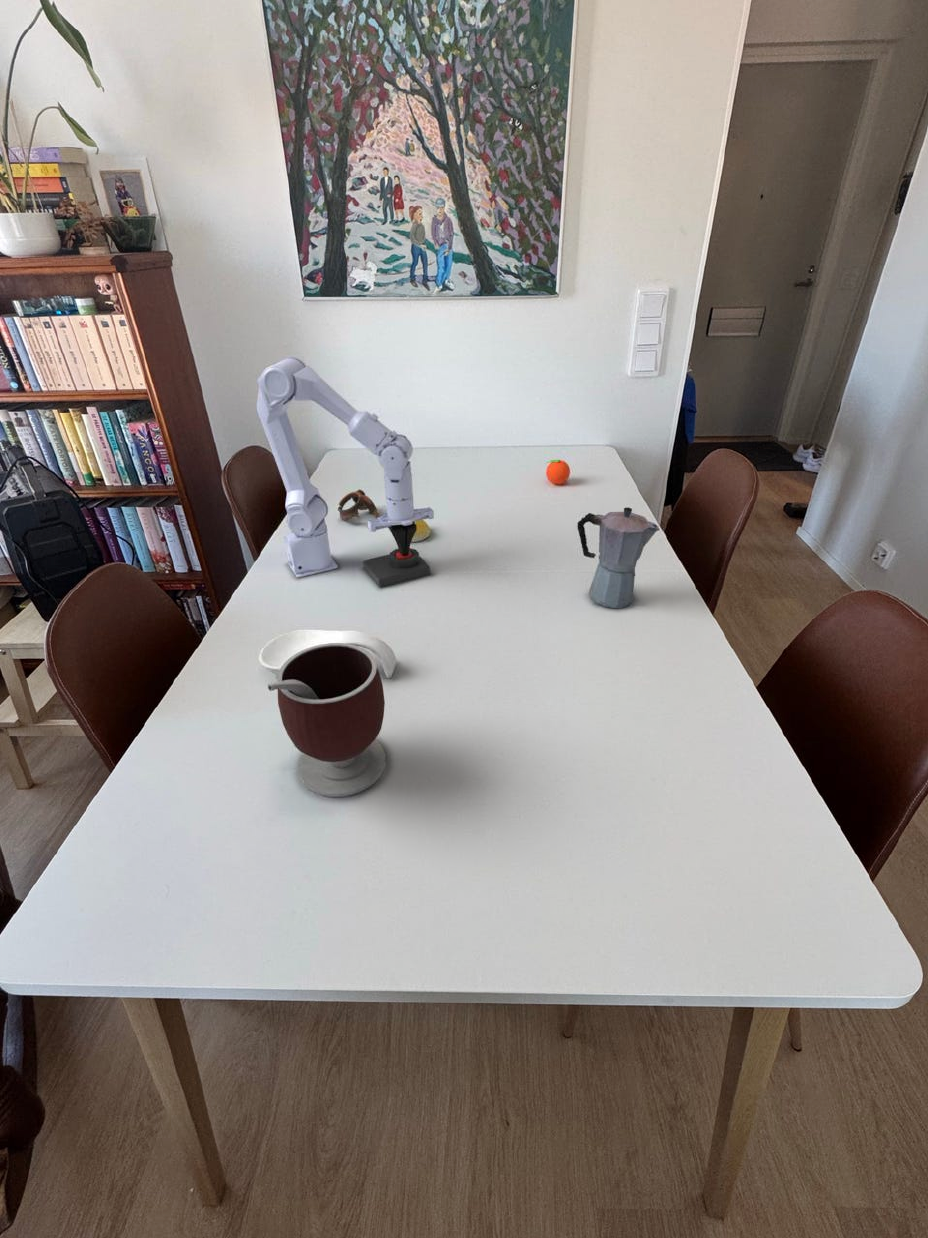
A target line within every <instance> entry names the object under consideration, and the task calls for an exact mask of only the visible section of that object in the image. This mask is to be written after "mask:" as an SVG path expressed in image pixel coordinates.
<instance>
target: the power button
mask: <svg viewBox="0 0 928 1238" xmlns="http://www.w3.org/2000/svg"><path fill="white" fill-rule="evenodd" d="M411 556H412V553H411V552H410V551H409V555H407V556H402V555H401V554H400V553H399V552H397V553H396V557H397V558H400V559H406V558H410V557H411Z"/></svg>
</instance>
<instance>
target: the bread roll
mask: <svg viewBox="0 0 928 1238" xmlns="http://www.w3.org/2000/svg"><path fill="white" fill-rule="evenodd" d="M414 523H415V524H416V525H417V530H416V532H415V534H414V536H413V538H412V541H411V543H416V542H422V541H424V540H426V539H427V538H429V537H430V535H431V530H432V529H431V527H430V526H429V524H428V523H427V522H426V521H425V519H423V520H419V521H414Z"/></svg>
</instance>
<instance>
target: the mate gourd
mask: <svg viewBox="0 0 928 1238" xmlns="http://www.w3.org/2000/svg"><path fill="white" fill-rule="evenodd" d="M381 677H382V676H381V673H380V671H379V668H378V666H377V661H376V659H375V657H374V656H373V654H372V653H370V651H369V650H368V649H367V650H366V648H363V647H359V646H356V645H352V644H345V643H328V644H321V645H317V646H313V647H310V648H307V649H304V650H302V651H300V652H298V653H296V654H295V655H293V656H292V657H290V658H289V659H288V660H287V661H286V662H285V663H284V664H283V665H282V667H281V668H280V670H279V673H278V674H277V678H276V679H277V680H276V682H271V683H269V684H267V689H268V691H270V692H274V691H275V690H277V705H278V709H279V714H280V718H281V722H282V725H283V727H284V730H285V732H286V735H287V736H288V737H289V739H290V740H291V742H292V744H293V745H294V747H295V749H297V750H298V751H299V752H300V753H302V754H303V755H302V758H301V760H300V762H299V775H300V777H301V781H302V782H303V784H304V786H305V787H306V788H307V789H308V790H309V791H311V792H313V793H315V794H317V795H320V796H323V797H328V798H342V797H350V796H352V795H356V794H358V793H361V792H363V791H365V790H367V789H368V788H369V787H371V786H372V785H373V784H375V783H376V782H377V781H378V780H379V778H380V777H381V775H382V774H383V772H384V770H385V767H386V761H387V760H386V754H385V750H384V747H383V746H382V744H381V743H380V742H379V741H378V740H377V737H378V736H379V734H380V733H381V730H382V726H383V722H384V717H385V706H386V704H385V703H386V702H385V701H386V700H385V693H384V684H383V680H382V678H381Z"/></svg>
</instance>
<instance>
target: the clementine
mask: <svg viewBox="0 0 928 1238" xmlns="http://www.w3.org/2000/svg"><path fill="white" fill-rule="evenodd" d="M546 464H548V465H547V467H546V470H545V475H546V478H547V479H548V481H549V482H550V483H552V484H553V485H562V484H564V483H566V482H567V480H568V479H569V477H570V475H571V467H570V465H569V464H568V462H566V461H564V460H562V459H552V460H549V461H547V462H546Z"/></svg>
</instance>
